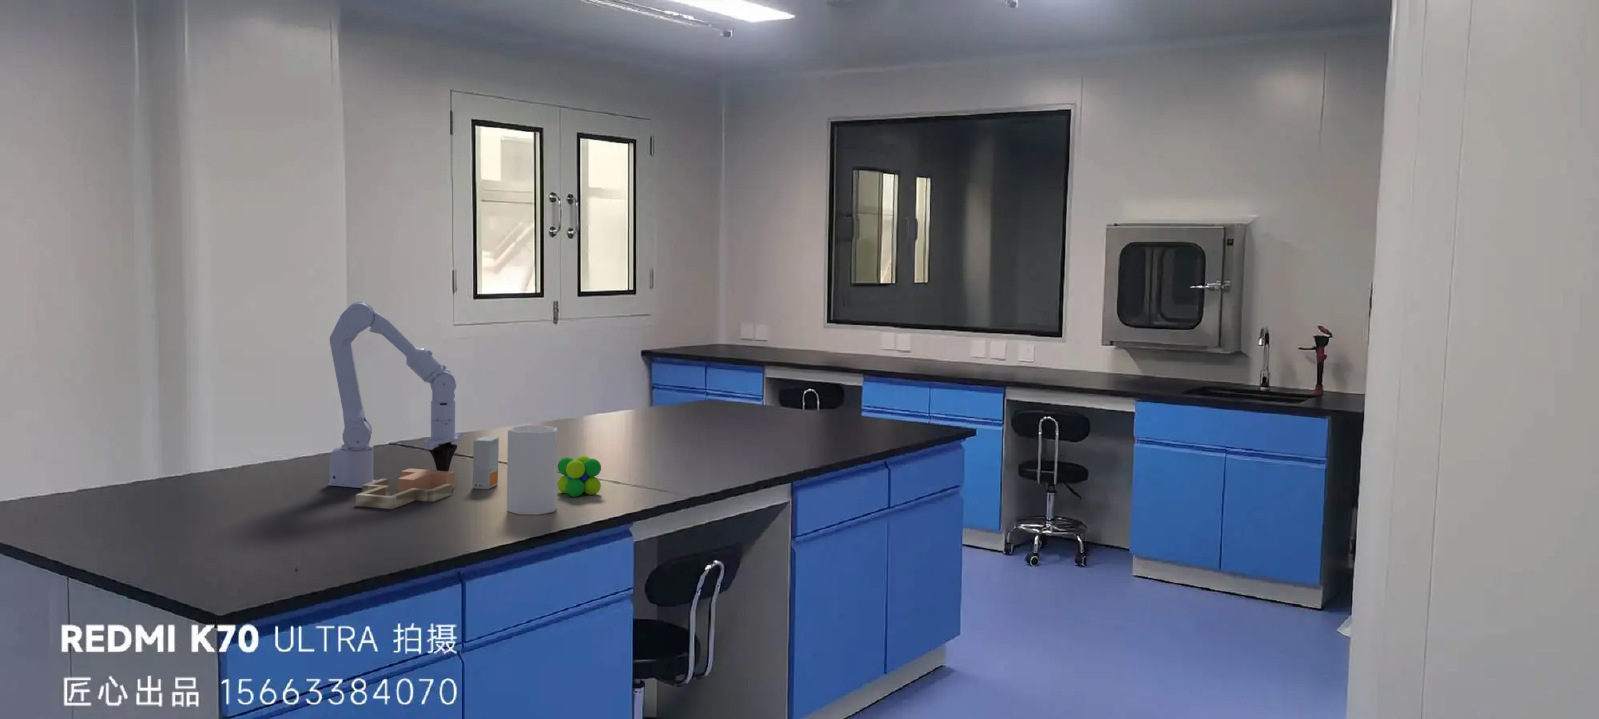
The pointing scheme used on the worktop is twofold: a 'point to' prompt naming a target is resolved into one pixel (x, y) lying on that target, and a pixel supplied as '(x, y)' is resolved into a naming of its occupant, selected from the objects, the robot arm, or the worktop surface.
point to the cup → (532, 470)
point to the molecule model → (579, 476)
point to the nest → (397, 495)
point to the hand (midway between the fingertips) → (442, 473)
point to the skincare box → (485, 462)
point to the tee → (424, 479)
